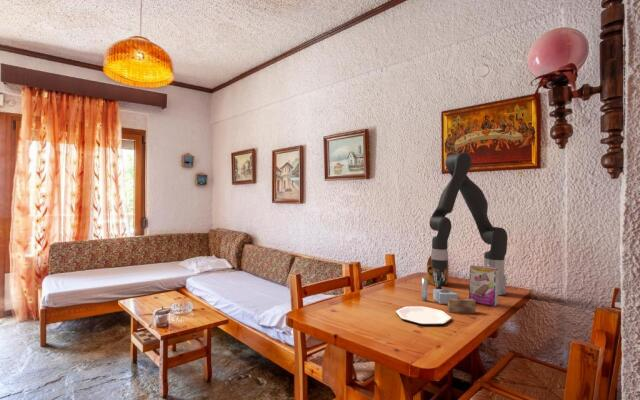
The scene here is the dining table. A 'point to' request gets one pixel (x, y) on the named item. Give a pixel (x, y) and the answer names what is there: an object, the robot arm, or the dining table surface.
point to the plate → (423, 315)
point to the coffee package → (430, 270)
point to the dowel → (424, 289)
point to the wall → (462, 305)
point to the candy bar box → (484, 285)
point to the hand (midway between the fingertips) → (438, 294)
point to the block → (444, 295)
